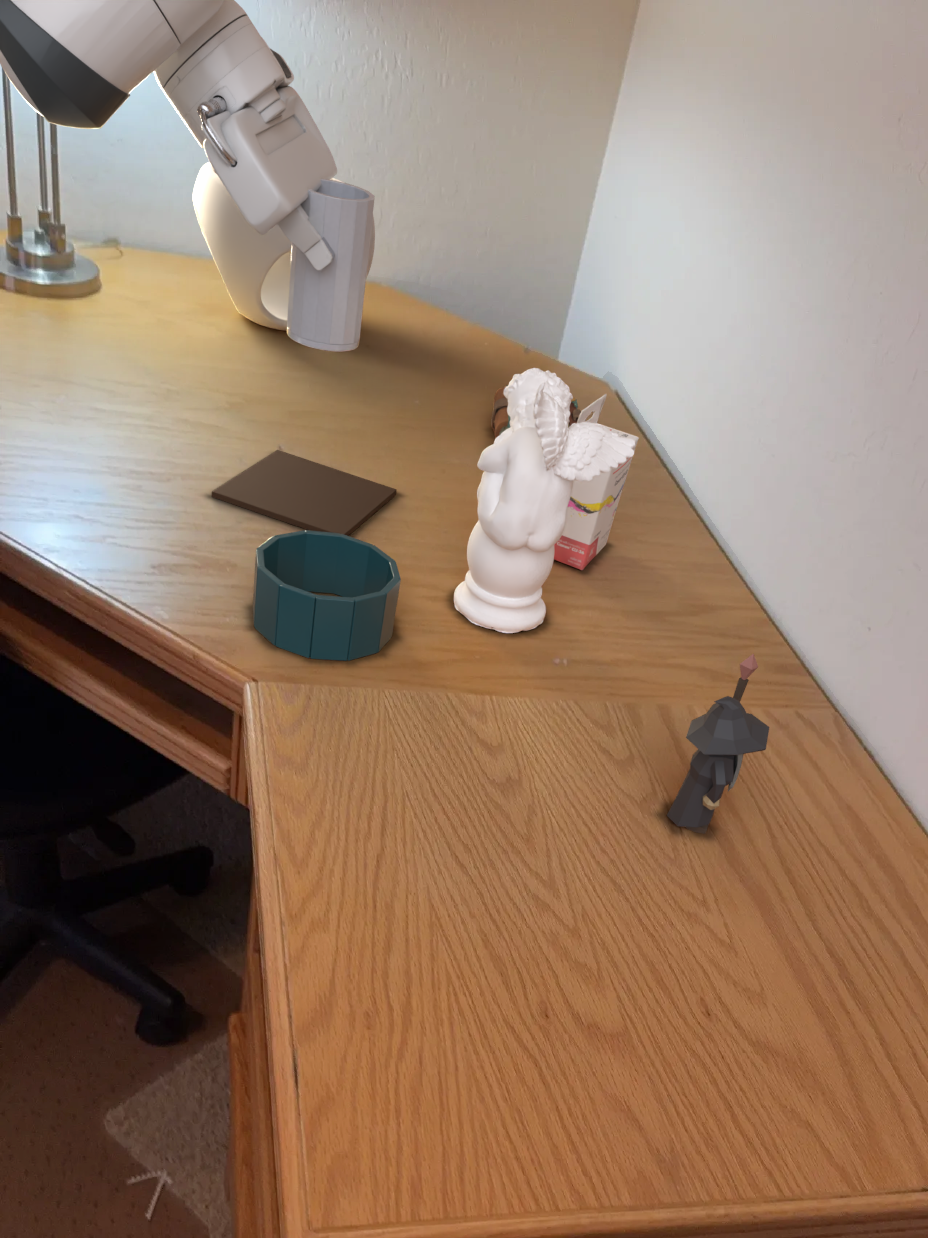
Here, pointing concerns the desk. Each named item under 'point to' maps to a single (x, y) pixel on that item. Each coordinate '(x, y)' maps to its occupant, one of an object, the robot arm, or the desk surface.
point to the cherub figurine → (529, 500)
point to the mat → (305, 494)
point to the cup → (332, 270)
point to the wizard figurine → (717, 755)
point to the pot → (247, 253)
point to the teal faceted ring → (320, 619)
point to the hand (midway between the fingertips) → (336, 254)
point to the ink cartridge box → (592, 505)
